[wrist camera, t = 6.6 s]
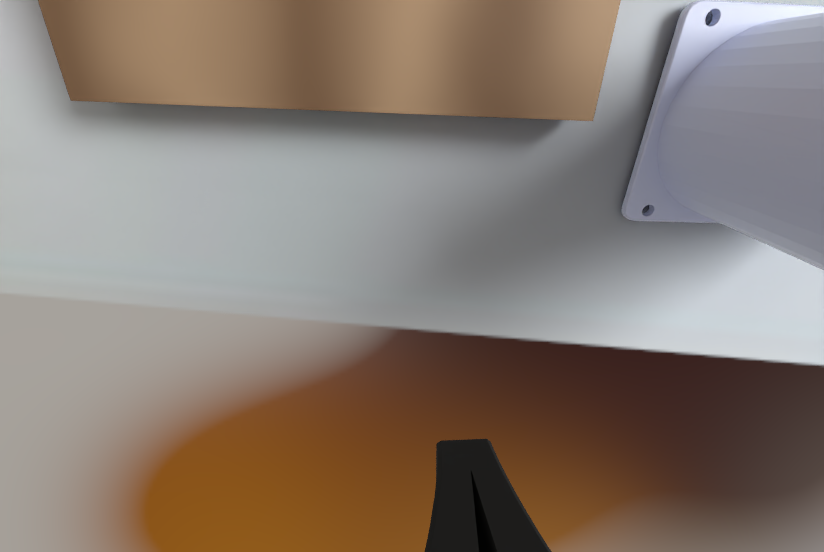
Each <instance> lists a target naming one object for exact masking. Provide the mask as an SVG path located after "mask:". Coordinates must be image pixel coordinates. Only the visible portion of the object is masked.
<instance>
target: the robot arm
mask: <svg viewBox="0 0 824 552" xmlns="http://www.w3.org/2000/svg"><path fill="white" fill-rule="evenodd" d="M709 11H711V12H712V15H713V17H712V21H711V22H710V24H709V25H708V26H707V25H706V23H705V18H706V15H707V14H708V12H709ZM647 205H649V209H648V211H646V212H645V213H642V210H643V208H644V207H645V206H647ZM621 212H622V215H623V216H624V217H625V218H627V219H628V220H632V221H656V222H692V223H721V224H723V225H725V226H727V227H730V228H732V229H734V230H736V231H738V232H741V233H743V234H745V235H747V236H750V237H752V238H754V239H756V240H758V241H761V242H763V243H765V244H767V245H769V246H772V247H774V248H776V249H778V250H780V251H783V252H785V253H787V254H789V255H791V256H794V257H796V258H798V259H800V260H802V261H805V262H807V263H809V264H811V265H813V266H816V267H818V268H820V269H822V270H824V6H812V5H793V4H775V3H756V2H737V1H718V0H699V1H695V2H692V3H690V4H689V5H687V6H686V7H685V8H684V9H683V10H682V12H681V14H680V16H679V19H678V22H677V25H676V29H675V32H674V35H673V39H672V42H671V45H670V49H669V52H668V55H667V59H666V62H665V65H664V69H663V72H662V75H661V79H660V82H659V85H658V89H657V92H656V95H655V99H654V102H653V105H652V109H651V112H650V115H649V119H648V122H647V125H646V129H645V132H644V135H643V138H642V142H641V145H640V148H639V152H638V155H637V158H636V162H635V165H634V168H633V172H632V175H631V178H630V182H629V185H628V188H627V192H626V195H625V198H624V202H623V205H622V210H621ZM436 456H437V457H436V463H437V464H436V466H437V467H436V490H435V498H434V504H433V510H432V517H431V523H430V529H429V534H428V539H427V543H426V548H425V552H551V550H550V549H549V547H548V546H547V544H546V543H545V541H544V540H543V538H542V536H541V535H540V533H539V532H538V530H537V528H536V527H535V525H534V523H533V522H532V520H531V518H530V517H529V515H528V513H527V512H526V510H525V508H524V507H523V505H522V503H521V501H520V500H519V498H518V496H517V494H516V492H515V491H514V489H513V487H512V485H511V483H510V481H509V479H508V478H507V476H506V474H505V472H504V470H503V468H502V466H501V464H500V462H499V460H498V458H497V456H496V453H495V451H494V449H493V447H492V444H491V442H490V441H489V440H488V439H472V440H448V441H440V442H438V443H437V451H436Z"/></svg>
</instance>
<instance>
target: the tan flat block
mask: <svg viewBox="0 0 824 552" xmlns="http://www.w3.org/2000/svg"><path fill="white" fill-rule="evenodd" d="M620 1H621V0H38V2H39V5H40V8H41V11H42V14H43V17H44V20H45V23H46V26H47V29H48V33H49V36H50V39H51V42H52V45H53V48H54V51H55V54H56V57H57V60H58V63H59V66H60V69H61V72H62V75H63V78H64V82H65V85H66V88H67V91H68V94H69V97H70V100H71V101H95V102H120V103H146V104H171V105H197V106H222V107H248V108H273V109H299V110H324V111H350V112H375V113H400V114H426V115H451V116H477V117H502V118H528V119H553V120H579V121H593V118H594V114H595V110H596V105H597V101H598V97H599V92H600V88H601V83H602V79H603V75H604V70H605V66H606V62H607V57H608V53H609V49H610V44H611V40H612V36H613V31H614V27H615V23H616V18H617V14H618V10H619V5H620Z"/></svg>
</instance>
